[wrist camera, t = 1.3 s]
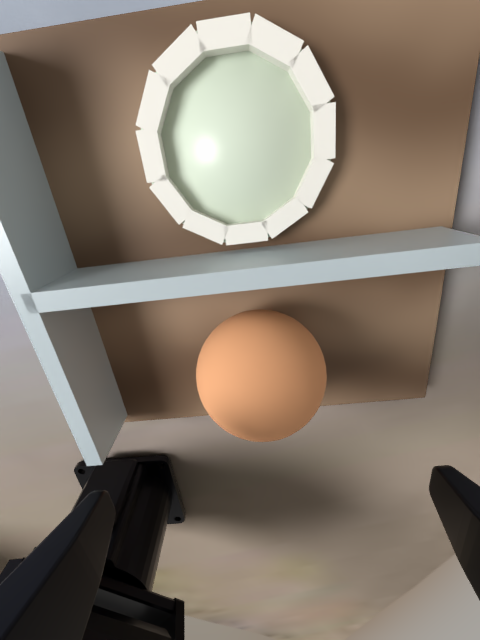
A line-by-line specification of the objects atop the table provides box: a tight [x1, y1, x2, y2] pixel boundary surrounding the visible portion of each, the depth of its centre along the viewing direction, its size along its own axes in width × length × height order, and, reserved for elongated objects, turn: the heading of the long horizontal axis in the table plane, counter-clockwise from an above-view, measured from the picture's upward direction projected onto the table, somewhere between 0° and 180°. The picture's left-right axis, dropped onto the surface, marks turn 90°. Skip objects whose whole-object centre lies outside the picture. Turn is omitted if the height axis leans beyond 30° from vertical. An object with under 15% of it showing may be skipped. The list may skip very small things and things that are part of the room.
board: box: [0, 0, 480, 466], centre depth 13 cm, size 18×18×4 cm
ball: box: [196, 309, 327, 442], centre depth 14 cm, size 6×6×6 cm
